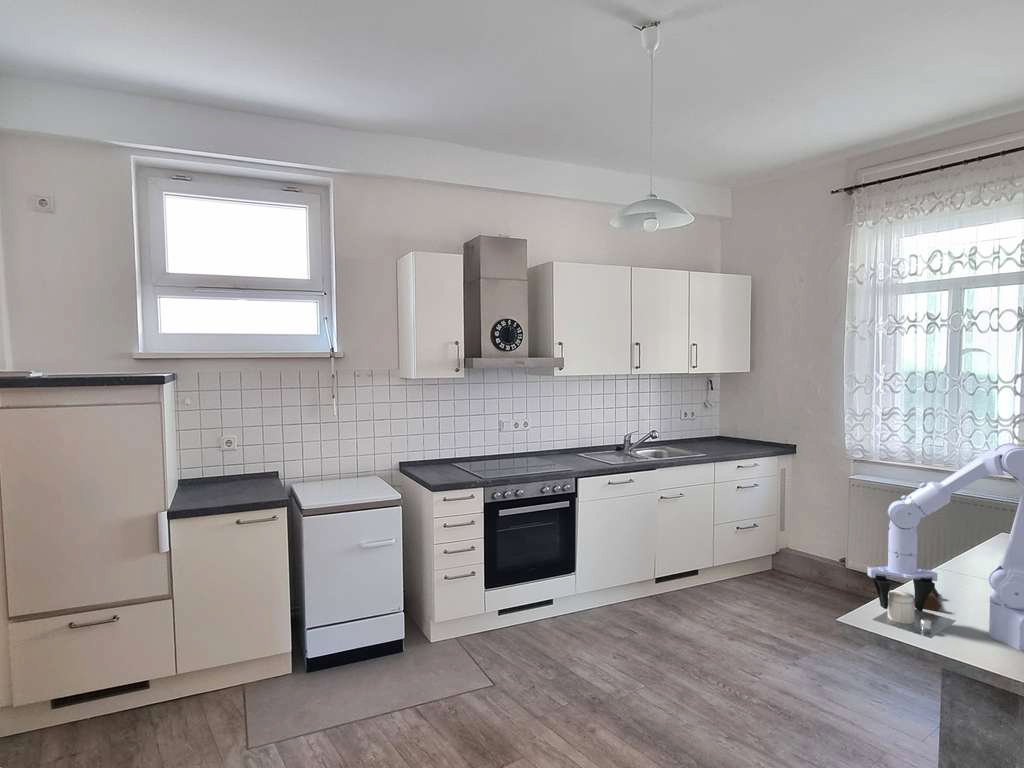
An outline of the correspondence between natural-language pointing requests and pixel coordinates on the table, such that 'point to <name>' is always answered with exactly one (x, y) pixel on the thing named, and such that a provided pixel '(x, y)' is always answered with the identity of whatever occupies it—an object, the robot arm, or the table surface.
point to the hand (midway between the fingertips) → (901, 608)
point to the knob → (901, 607)
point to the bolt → (932, 601)
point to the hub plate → (919, 623)
